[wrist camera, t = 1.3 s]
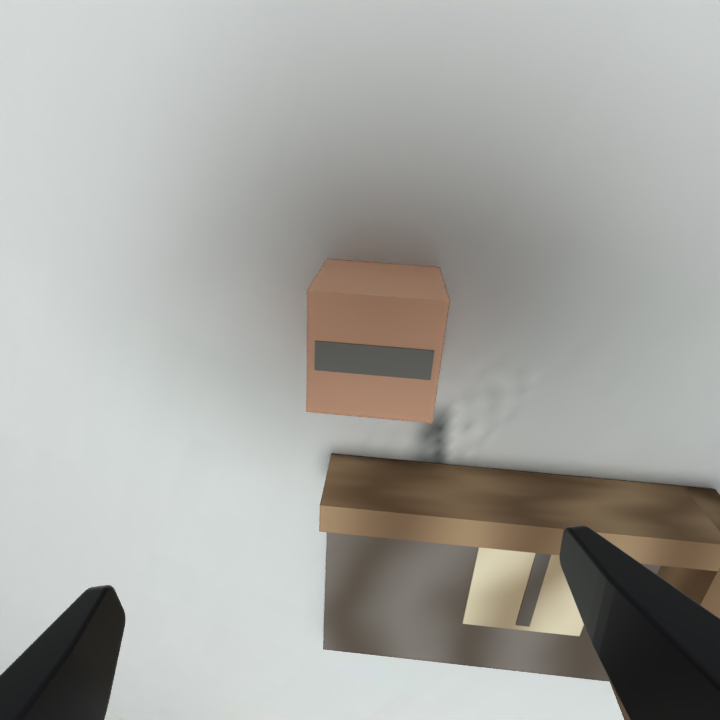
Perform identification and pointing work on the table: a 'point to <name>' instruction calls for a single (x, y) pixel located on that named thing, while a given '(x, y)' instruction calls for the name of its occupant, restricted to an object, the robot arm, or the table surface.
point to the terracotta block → (375, 340)
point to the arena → (493, 559)
